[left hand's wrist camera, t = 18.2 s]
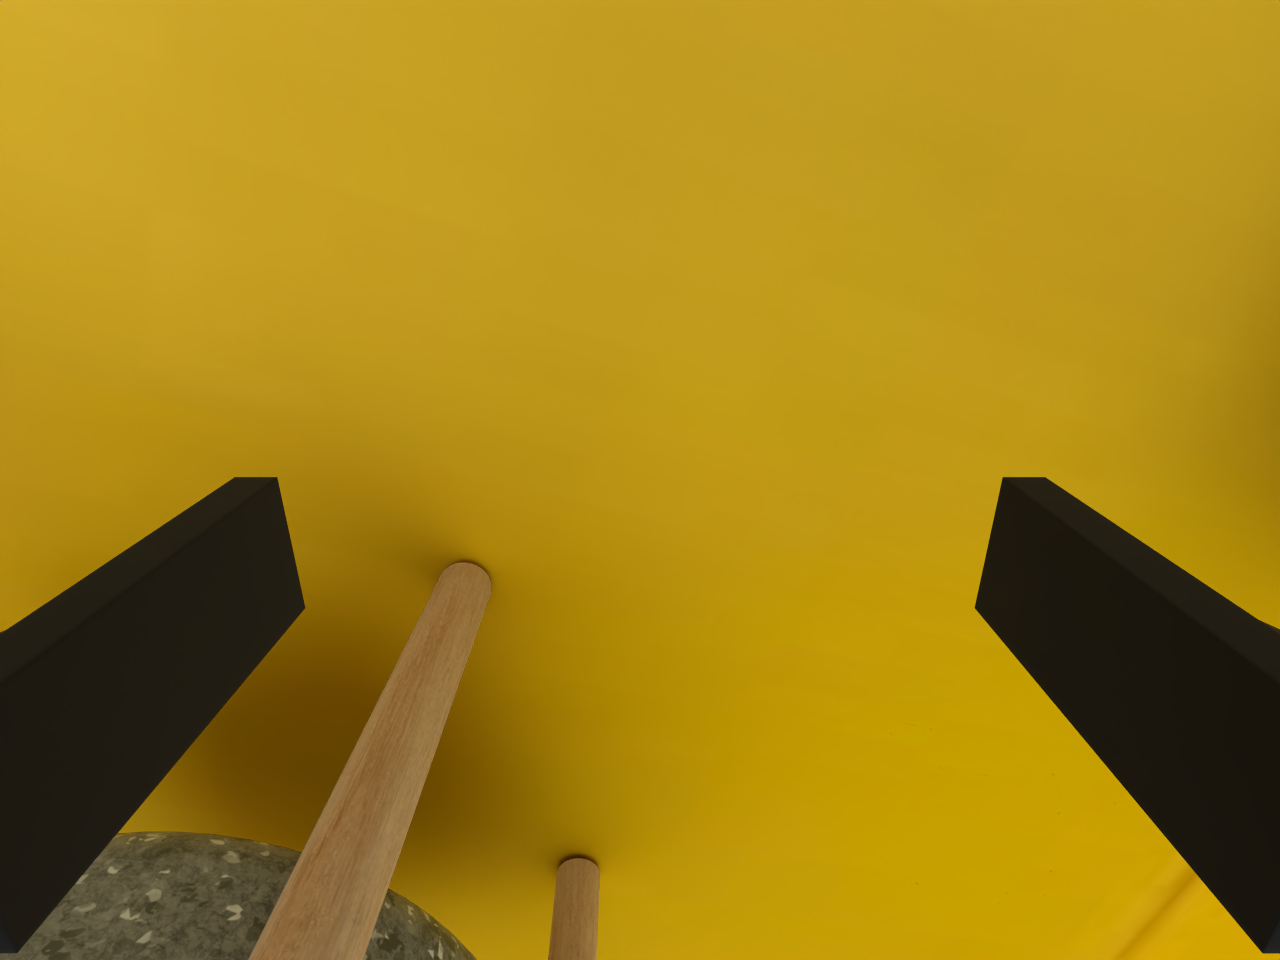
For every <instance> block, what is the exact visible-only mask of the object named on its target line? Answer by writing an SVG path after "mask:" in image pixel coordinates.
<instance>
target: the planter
mask: <svg viewBox="0 0 1280 960" xmlns="http://www.w3.org/2000/svg"><path fill="white" fill-rule="evenodd" d="M491 590H492V584H491V580H490V578H489V576H488V574H487V573H486V572H485V571H484V570H483V569H482V568H480V567H479V566H477V565H474V564H472V563H465V562H461V563H455V564H453V565H450V566H449V567H447V568H446V569H445V570H444V571H443V572H442V574H441V576H440V578H439V580H438V582H437V584H436V586H435V587H434V589H433V591H432V593H431V595H430V597H429V599H428V601H427V603H426V605H425V607H424V609H423V611H422V613H421V615H420V617H419V619H418V621H417V623H416V625H415V627H414V629H413V631H412V633H411V635H410V637H409V639H408V641H407V643H406V645H405V647H404V649H403V651H402V653H401V655H400V657H399V659H398V661H397V663H396V665H395V667H394V669H393V671H392V673H391V675H390V677H389V679H388V681H387V683H386V685H385V687H384V689H383V691H382V693H381V695H380V697H379V699H378V701H377V703H376V705H375V707H374V709H373V711H372V713H371V715H370V717H369V719H368V721H367V723H366V725H365V727H364V729H363V731H362V733H361V735H360V737H359V739H358V741H357V743H356V745H355V747H354V749H353V751H352V753H351V755H350V757H349V759H348V761H347V763H346V765H345V767H344V769H343V771H342V773H341V775H340V777H339V779H338V781H337V783H336V785H335V787H334V789H333V791H332V793H331V795H330V797H329V799H328V801H327V803H326V805H325V807H324V809H323V811H322V813H321V815H320V817H319V819H318V821H317V823H316V825H315V827H314V829H313V831H312V833H311V835H310V837H309V839H308V841H307V843H306V845H305V847H304V849H303V851H302V852H298V851H295V850H292V849H288V848H285V847H280V846H276V845H271V844H267V843H262V842H258V841H253V840H248V839H241V838H235V837H228V836H221V835H215V834H201V833H188V832H133V833H120V834H116V836H115V837H114V838H113V839H112V840H111V842H110V843H109V844H108V845H107V846H106V848H105V849H104V850H103V851H102V852H101V854H100V855H99V856H98V857H97V858H96V860H95V861H94V862H93V863H92V864H91V866H90V867H89V868H88V869H87V870H86V872H85V873H84V874H83V875H82V876H81V878H80V879H79V880H78V881H77V882H76V884H75V885H74V886H73V887H72V888H71V890H70V891H69V892H68V893H67V894H66V896H65V897H64V898H63V899H62V900H61V902H60V903H59V904H58V905H57V906H56V907H55V909H54V910H53V911H52V912H51V913H50V915H49V916H48V917H47V918H46V919H45V921H44V922H43V923H42V924H41V925H40V927H39V928H38V929H37V930H36V931H35V933H34V934H33V935H32V936H31V937H30V939H29V940H28V941H27V942H26V943H25V945H24V946H23V947H22V948H21V949H20V951H19V952H18V953H0V960H477V959H476V958H475V957H474V956H473V955H472V954H471V952H470V951H469V950H468V949H467V948H466V947H465V946H464V945H463V944H462V943H461V942H460V941H459V940H458V939H457V938H456V937H455V936H454V935H453V934H452V933H451V932H450V931H449V930H448V929H446V928H445V927H444V926H443V925H442V924H440V923H439V922H438V921H437V920H436V919H434V918H433V917H432V916H431V915H430V914H428V913H427V912H425V911H424V910H422V909H421V908H419V907H418V906H416V905H415V904H413V903H412V902H411V901H409V900H408V899H406V898H404V897H403V896H401V895H399V894H397V893H396V892H394V891H392V890H390V889H389V888H388V887H389V884H390V881H391V878H392V875H393V872H394V870H395V867H396V864H397V861H398V858H399V855H400V852H401V850H402V847H403V844H404V841H405V838H406V835H407V832H408V829H409V827H410V824H411V821H412V818H413V815H414V812H415V809H416V806H417V804H418V801H419V798H420V795H421V792H422V789H423V786H424V784H425V781H426V778H427V775H428V772H429V769H430V766H431V763H432V761H433V758H434V755H435V752H436V749H437V746H438V743H439V740H440V738H441V735H442V732H443V729H444V726H445V723H446V720H447V718H448V715H449V712H450V709H451V706H452V703H453V700H454V697H455V695H456V692H457V689H458V686H459V683H460V680H461V677H462V674H463V672H464V669H465V666H466V663H467V660H468V657H469V654H470V652H471V649H472V646H473V643H474V640H475V637H476V634H477V631H478V629H479V626H480V623H481V620H482V617H483V614H484V611H485V608H486V606H487V603H488V600H489V597H490V594H491ZM599 881H600V872H599V869H598V867H597V866H596V865H595V864H594V863H593V862H591V861H589V860H586V859H582V858H575V859H570V860H567V861H565V862H564V863H563V864H561V865H560V867H559V868H558V871H557V878H556V888H555V898H554V907H553V917H552V927H551V936H550V946H549V956H548V960H596V956H597V931H598V906H599Z"/></svg>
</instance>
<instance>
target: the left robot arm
mask: <svg viewBox="0 0 1280 960" xmlns="http://www.w3.org/2000/svg"><path fill="white" fill-rule="evenodd" d="M304 609H305V605H304V600H303V595H302V591H301V586H300V581H299V577H298V572H297V567H296V563H295V558H294V553H293V549H292V544H291V539H290V535H289V530H288V525H287V521H286V516H285V511H284V507H283V502H282V497H281V493H280V488H279V484H278V479H277V477H235V478H233V479H232V480H230V481H229V482H227V483H226V484H224V485H223V486H221V487H220V488H218V489H217V490H215V491H214V492H212V493H211V494H209V495H208V496H206V497H205V498H203V499H202V500H200V501H199V502H197V503H196V504H194V505H193V506H191V507H190V508H188V509H187V510H185V511H184V512H182V513H181V514H179V515H178V516H176V517H175V518H173V519H172V520H170V521H169V522H167V523H166V524H164V525H163V526H161V527H160V528H158V529H157V530H155V531H154V532H152V533H151V534H149V535H148V536H146V537H145V538H143V539H142V540H140V541H139V542H137V543H136V544H134V545H133V546H131V547H130V548H128V549H127V550H125V551H124V552H122V553H121V554H119V555H118V556H116V557H115V558H113V559H112V560H110V561H109V562H107V563H106V564H104V565H103V566H101V567H100V568H98V569H97V570H95V571H94V572H92V573H91V574H89V575H88V576H86V577H85V578H83V579H82V580H80V581H79V582H77V583H76V584H74V585H73V586H71V587H70V588H68V589H67V590H65V591H64V592H62V593H61V594H59V595H58V596H57V597H55V598H54V599H52V600H51V601H49V602H48V603H46V604H45V605H43V606H42V607H40V608H39V609H37V610H36V611H34V612H33V613H31V614H30V615H28V616H27V617H25V618H24V619H22V620H21V621H19V622H18V623H16V624H15V625H13V626H12V627H10V628H9V629H7V630H5V631H3V632H0V953H18V952H19V951H20V949H21V948H22V947H23V946H24V945H25V943H26V942H27V941H28V940H29V939H30V937H31V936H32V935H33V934H34V933H35V931H36V930H37V929H38V928H39V927H40V925H41V924H42V923H43V922H44V921H45V919H46V918H47V917H48V916H49V915H50V913H51V912H52V911H53V910H54V909H55V907H56V906H57V905H58V904H59V903H60V902H61V900H62V899H63V898H64V897H65V896H66V894H67V893H68V892H69V891H70V890H71V888H72V887H73V886H74V885H75V884H76V882H77V881H78V880H79V879H80V878H81V876H82V875H83V874H84V873H85V872H86V870H87V869H88V868H89V867H90V866H91V864H92V863H93V862H94V861H95V860H96V858H97V857H98V856H99V855H100V854H101V852H102V851H103V850H104V849H105V848H106V846H107V845H108V844H109V843H110V842H111V840H112V839H113V838H114V837H115V836H116V834H117V833H118V832H119V831H120V830H121V828H122V827H123V826H124V825H125V824H126V822H127V821H128V820H129V819H130V818H131V816H132V815H133V814H134V813H135V812H136V810H137V809H138V808H139V807H140V806H141V804H142V803H143V802H144V801H145V800H146V798H147V797H148V796H149V795H150V794H151V792H152V791H153V790H154V789H155V788H156V786H157V785H158V784H159V783H160V782H161V780H162V779H163V778H164V777H165V776H166V774H167V773H168V772H169V771H170V770H171V768H172V767H173V766H174V765H175V764H176V762H177V761H178V760H179V759H180V758H181V756H182V755H183V754H184V753H185V752H186V750H187V749H188V748H189V747H190V746H191V744H192V743H193V742H194V741H195V740H196V738H197V737H198V736H199V735H200V734H201V732H202V731H203V730H204V729H205V728H206V726H207V725H208V724H209V723H210V722H211V720H212V719H213V718H214V717H215V716H216V714H217V713H218V712H219V711H220V710H221V708H222V707H223V706H224V705H225V704H226V702H227V701H228V700H229V699H230V698H231V696H232V695H233V694H234V693H235V692H236V690H237V689H238V688H239V687H240V686H241V684H242V683H243V682H244V681H245V680H246V678H247V677H248V676H249V675H250V674H251V672H252V671H253V670H254V669H255V668H256V666H257V665H258V664H259V663H260V662H261V660H262V659H263V658H264V657H265V656H266V654H267V653H268V652H269V651H270V650H271V648H272V647H273V646H274V645H275V644H276V642H277V641H278V640H279V639H280V638H281V636H282V635H283V634H284V633H285V632H286V630H287V629H288V628H289V627H290V626H291V624H292V623H293V622H294V621H295V620H296V618H297V617H298V616H299V615H300V614H301V612H302V611H303V610H304ZM975 609H976V610H977V611H978V612H979V614H980V615H981V616H982V617H983V618H984V620H985V621H986V622H987V623H988V624H989V626H990V627H991V628H992V629H993V630H994V632H995V633H996V634H997V635H998V636H999V638H1000V639H1001V640H1002V641H1003V642H1004V644H1005V645H1006V646H1007V647H1008V648H1009V650H1010V651H1011V652H1012V653H1013V654H1014V656H1015V657H1016V658H1017V659H1018V660H1019V662H1020V663H1021V664H1022V665H1023V666H1024V668H1025V669H1026V670H1027V671H1028V672H1029V674H1030V675H1031V676H1032V677H1033V678H1034V680H1035V681H1036V682H1037V683H1038V684H1039V686H1040V687H1041V688H1042V689H1043V690H1044V692H1045V693H1046V694H1047V695H1048V696H1049V698H1050V699H1051V700H1052V701H1053V702H1054V704H1055V705H1056V706H1057V707H1058V708H1059V710H1060V711H1061V712H1062V713H1063V714H1064V716H1065V717H1066V718H1067V719H1068V720H1069V722H1070V723H1071V724H1072V725H1073V726H1074V728H1075V729H1076V730H1077V731H1078V732H1079V734H1080V735H1081V736H1082V737H1083V738H1084V740H1085V741H1086V742H1087V743H1088V744H1089V746H1090V747H1091V748H1092V749H1093V750H1094V752H1095V753H1096V754H1097V755H1098V756H1099V758H1100V759H1101V760H1102V761H1103V762H1104V764H1105V765H1106V766H1107V767H1108V768H1109V770H1110V771H1111V772H1112V773H1113V774H1114V776H1115V777H1116V778H1117V779H1118V780H1119V782H1120V783H1121V784H1122V785H1123V786H1124V788H1125V789H1126V790H1127V791H1128V792H1129V794H1130V795H1131V796H1132V797H1133V798H1134V800H1135V801H1136V802H1137V803H1138V804H1139V806H1140V807H1141V808H1142V809H1143V810H1144V812H1145V813H1146V814H1147V815H1148V816H1149V818H1150V819H1151V820H1152V821H1153V822H1154V824H1155V825H1156V826H1157V827H1158V828H1159V830H1160V831H1161V832H1162V833H1163V834H1164V836H1165V837H1166V838H1167V839H1168V840H1169V842H1170V843H1171V844H1172V845H1173V846H1174V848H1175V849H1176V850H1177V851H1178V852H1179V854H1180V855H1181V856H1182V857H1183V858H1184V860H1185V861H1186V862H1187V863H1188V864H1189V866H1190V867H1191V868H1192V869H1193V870H1194V872H1195V873H1196V874H1197V875H1198V876H1199V878H1200V879H1201V880H1202V881H1203V882H1204V884H1205V885H1206V886H1207V887H1208V888H1209V890H1210V891H1211V892H1212V893H1213V894H1214V896H1215V897H1216V898H1217V899H1218V900H1219V902H1220V903H1221V904H1222V905H1223V906H1224V908H1225V909H1226V910H1227V911H1228V912H1229V913H1230V915H1231V916H1232V917H1233V918H1234V919H1235V921H1236V922H1237V923H1238V924H1239V925H1240V927H1241V928H1242V929H1243V930H1244V931H1245V933H1246V934H1247V935H1248V936H1249V937H1250V939H1251V940H1252V941H1253V942H1254V943H1255V945H1256V946H1257V947H1258V948H1259V949H1260V951H1261V952H1262V953H1280V629H1278V628H1275V627H1273V626H1271V625H1269V624H1267V623H1264V622H1262V621H1260V620H1258V619H1256V618H1255V617H1253V616H1252V615H1250V614H1249V613H1247V612H1246V611H1244V610H1243V609H1241V608H1240V607H1238V606H1237V605H1235V604H1234V603H1232V602H1231V601H1229V600H1228V599H1226V598H1225V597H1223V596H1222V595H1221V594H1219V593H1218V592H1216V591H1215V590H1213V589H1212V588H1210V587H1209V586H1207V585H1206V584H1204V583H1203V582H1201V581H1200V580H1198V579H1197V578H1195V577H1194V576H1192V575H1191V574H1189V573H1188V572H1186V571H1185V570H1183V569H1182V568H1180V567H1179V566H1177V565H1176V564H1174V563H1173V562H1171V561H1170V560H1168V559H1167V558H1165V557H1164V556H1162V555H1161V554H1159V553H1158V552H1156V551H1155V550H1153V549H1152V548H1150V547H1149V546H1147V545H1146V544H1144V543H1143V542H1141V541H1140V540H1138V539H1137V538H1135V537H1134V536H1132V535H1131V534H1129V533H1128V532H1126V531H1125V530H1123V529H1122V528H1120V527H1119V526H1117V525H1116V524H1114V523H1113V522H1111V521H1110V520H1108V519H1107V518H1105V517H1104V516H1102V515H1101V514H1099V513H1098V512H1096V511H1095V510H1093V509H1092V508H1090V507H1089V506H1087V505H1086V504H1084V503H1083V502H1081V501H1080V500H1078V499H1077V498H1075V497H1074V496H1072V495H1071V494H1069V493H1068V492H1066V491H1065V490H1063V489H1062V488H1060V487H1059V486H1057V485H1056V484H1054V483H1053V482H1051V481H1050V480H1048V479H1047V478H1045V477H1003V479H1002V484H1001V488H1000V493H999V497H998V502H997V507H996V511H995V516H994V521H993V525H992V530H991V535H990V539H989V544H988V549H987V553H986V558H985V563H984V567H983V572H982V577H981V581H980V586H979V591H978V595H977V600H976V605H975Z"/></svg>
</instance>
